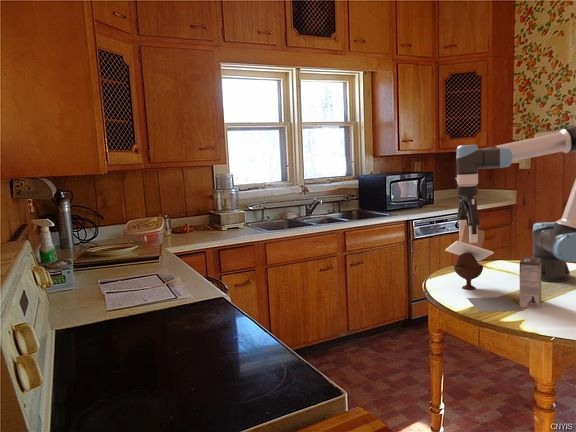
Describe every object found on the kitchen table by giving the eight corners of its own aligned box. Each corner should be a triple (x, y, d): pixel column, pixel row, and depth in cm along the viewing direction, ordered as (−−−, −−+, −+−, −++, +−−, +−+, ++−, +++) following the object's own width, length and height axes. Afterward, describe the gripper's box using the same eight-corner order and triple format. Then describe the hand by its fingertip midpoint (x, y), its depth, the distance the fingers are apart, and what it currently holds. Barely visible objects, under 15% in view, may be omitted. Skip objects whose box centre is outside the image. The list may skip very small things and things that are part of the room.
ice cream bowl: (487, 293, 167) (486, 255, 165) (456, 293, 170) (455, 255, 168) (480, 285, 178) (480, 249, 176) (451, 285, 180) (451, 249, 178)
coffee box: (521, 299, 158) (521, 256, 156) (541, 301, 155) (541, 257, 153) (519, 307, 150) (519, 262, 148) (540, 310, 147) (540, 263, 145)
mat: (507, 297, 161) (507, 296, 161) (523, 311, 147) (523, 310, 147) (466, 299, 163) (466, 297, 162) (479, 312, 148) (479, 311, 148)
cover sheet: (479, 261, 178) (483, 239, 180) (493, 253, 164) (498, 230, 167) (445, 250, 179) (450, 229, 182) (456, 242, 166) (461, 219, 169)
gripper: (448, 183, 181) (449, 233, 184) (467, 188, 156) (467, 246, 159) (467, 182, 180) (468, 232, 183) (488, 186, 155) (489, 245, 158)
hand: (468, 239), depth 171 cm, fingers open, 13 cm apart
